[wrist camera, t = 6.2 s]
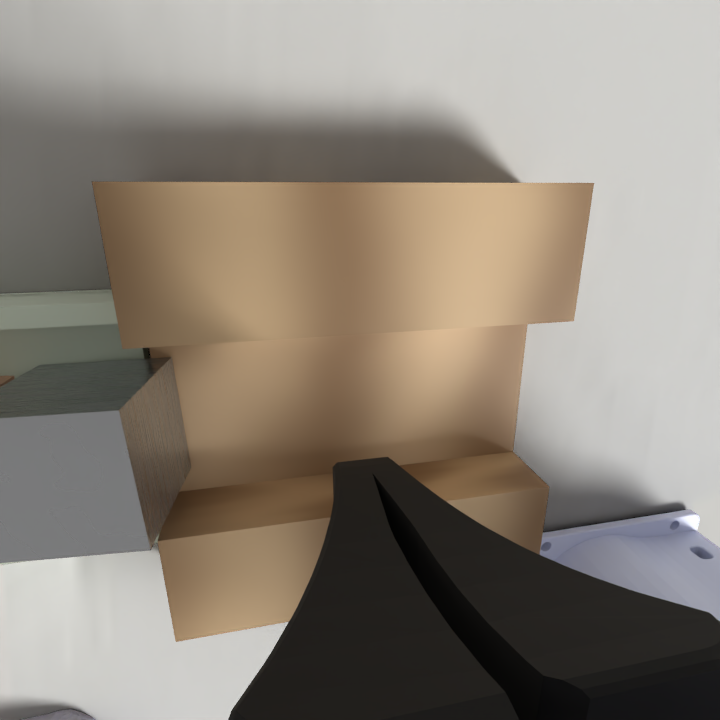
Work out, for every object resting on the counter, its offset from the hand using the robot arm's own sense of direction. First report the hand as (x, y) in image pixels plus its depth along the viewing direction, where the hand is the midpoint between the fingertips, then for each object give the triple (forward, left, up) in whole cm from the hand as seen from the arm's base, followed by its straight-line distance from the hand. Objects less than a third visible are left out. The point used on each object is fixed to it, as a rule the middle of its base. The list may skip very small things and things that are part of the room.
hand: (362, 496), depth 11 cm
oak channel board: (-1, 0, -7) cm, 7 cm away
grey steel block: (+7, 0, -6) cm, 9 cm away
